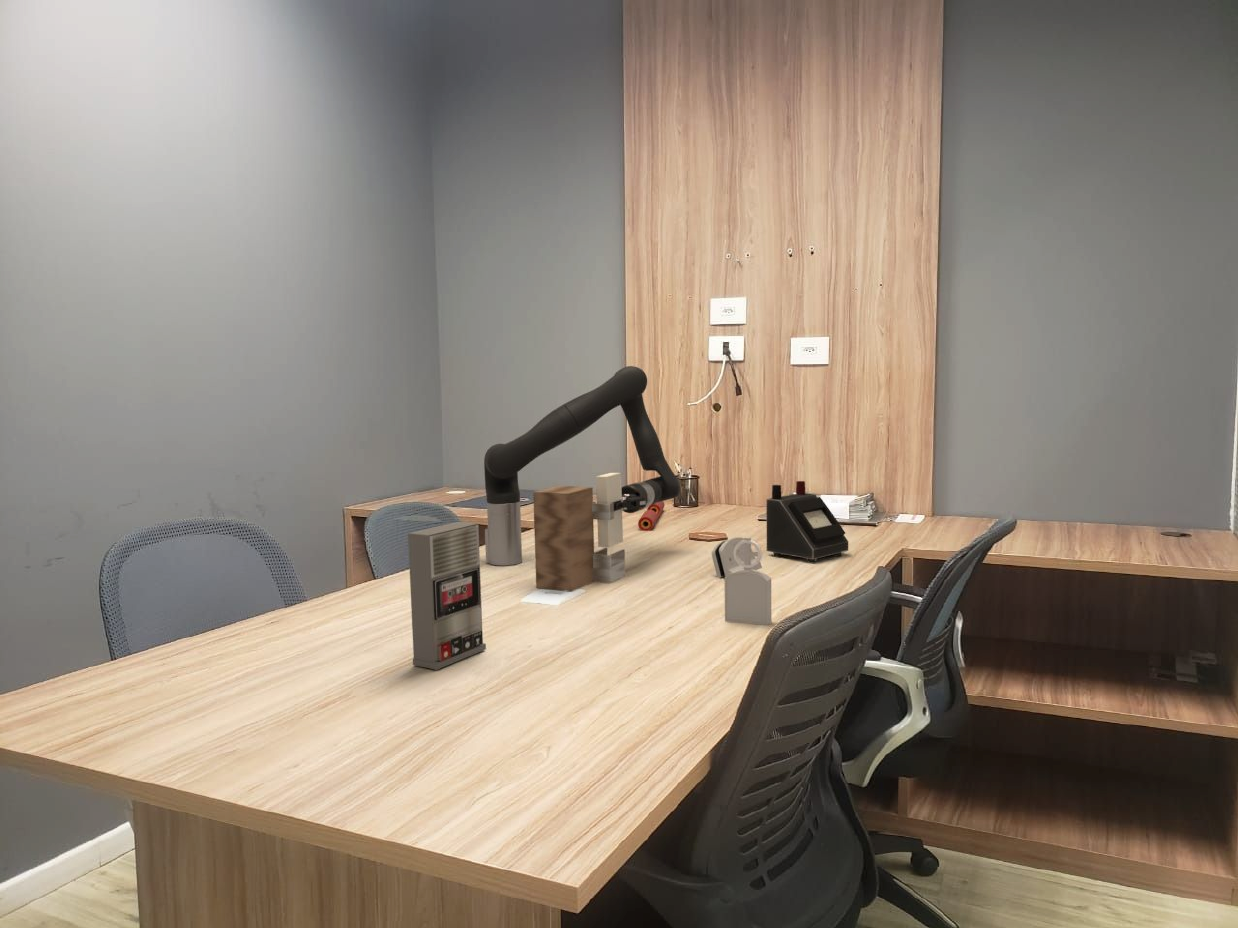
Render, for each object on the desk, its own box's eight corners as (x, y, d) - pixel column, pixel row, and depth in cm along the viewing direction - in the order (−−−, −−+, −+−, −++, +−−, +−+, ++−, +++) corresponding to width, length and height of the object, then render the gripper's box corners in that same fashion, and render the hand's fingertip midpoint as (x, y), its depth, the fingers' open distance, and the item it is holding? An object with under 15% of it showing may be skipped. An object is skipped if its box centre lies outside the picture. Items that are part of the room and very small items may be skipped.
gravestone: (767, 625, 195) (767, 540, 193) (724, 620, 199) (724, 537, 197) (771, 621, 198) (771, 537, 196) (728, 617, 202) (728, 535, 200)
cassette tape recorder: (437, 671, 170) (431, 535, 167) (412, 666, 173) (406, 533, 171) (487, 650, 182) (482, 523, 179) (463, 646, 185) (458, 521, 182)
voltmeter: (813, 564, 252) (814, 491, 250) (766, 556, 264) (766, 485, 262) (849, 555, 263) (849, 484, 260) (802, 547, 275) (802, 480, 273)
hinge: (734, 579, 236) (722, 541, 237) (719, 584, 238) (706, 546, 239) (762, 567, 250) (750, 531, 251) (747, 571, 252) (735, 535, 253)
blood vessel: (653, 531, 307) (653, 516, 307) (638, 531, 308) (637, 516, 307) (664, 511, 348) (664, 498, 348) (651, 511, 349) (651, 498, 349)
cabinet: (536, 587, 232) (533, 491, 229) (575, 571, 249) (573, 482, 247) (588, 593, 225) (586, 494, 223) (625, 576, 242) (623, 484, 240)
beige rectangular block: (598, 546, 238) (595, 476, 236) (612, 540, 245) (610, 472, 243) (608, 547, 236) (606, 476, 234) (623, 541, 244) (621, 472, 241)
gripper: (612, 482, 256) (581, 491, 241) (659, 484, 249) (630, 493, 234) (613, 509, 257) (582, 519, 241) (659, 511, 250) (631, 522, 235)
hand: (606, 506), depth 238 cm, fingers closed on beige rectangular block, 3 cm apart
